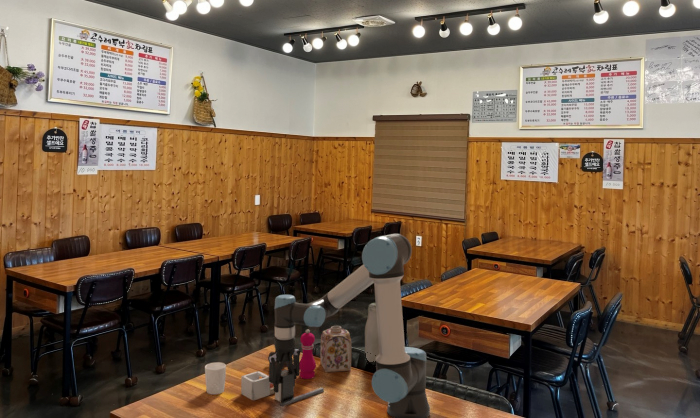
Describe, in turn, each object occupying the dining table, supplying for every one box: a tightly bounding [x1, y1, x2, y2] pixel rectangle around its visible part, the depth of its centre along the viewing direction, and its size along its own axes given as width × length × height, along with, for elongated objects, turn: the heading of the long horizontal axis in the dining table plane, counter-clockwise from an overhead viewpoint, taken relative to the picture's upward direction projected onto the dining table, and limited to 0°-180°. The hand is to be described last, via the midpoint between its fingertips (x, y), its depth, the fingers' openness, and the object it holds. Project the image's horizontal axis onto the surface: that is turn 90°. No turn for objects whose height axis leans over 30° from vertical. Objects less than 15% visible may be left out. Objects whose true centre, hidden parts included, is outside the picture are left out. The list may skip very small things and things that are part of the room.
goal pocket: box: [240, 370, 271, 402], centre depth 200 cm, size 8×8×7 cm
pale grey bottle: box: [364, 302, 379, 362], centre depth 232 cm, size 10×10×28 cm
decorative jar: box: [319, 325, 352, 373], centre depth 229 cm, size 12×12×18 cm
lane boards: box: [269, 386, 275, 396], centre depth 207 cm, size 8×12×2 cm
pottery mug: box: [268, 351, 287, 369], centre depth 228 cm, size 12×10×8 cm
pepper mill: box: [299, 329, 317, 380], centre depth 218 cm, size 7×7×20 cm
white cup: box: [204, 361, 227, 395], centre depth 202 cm, size 8×8×10 cm
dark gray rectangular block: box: [261, 369, 295, 403], centre depth 199 cm, size 16×5×10 cm, turn 44°
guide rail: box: [279, 387, 325, 408], centre depth 197 cm, size 1×20×1 cm, turn 134°
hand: (284, 397), depth 196 cm, fingers closed on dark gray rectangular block, 5 cm apart
